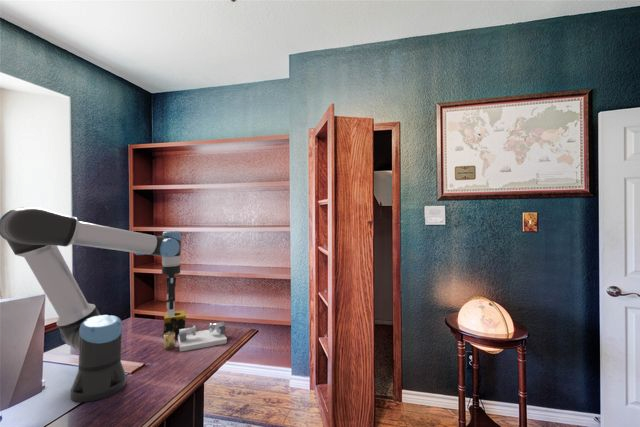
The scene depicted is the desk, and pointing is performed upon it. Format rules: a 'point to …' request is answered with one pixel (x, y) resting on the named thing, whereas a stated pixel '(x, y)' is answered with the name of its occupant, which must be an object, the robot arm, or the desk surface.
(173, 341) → the coupler
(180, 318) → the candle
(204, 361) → the desk surface
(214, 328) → the shaft out
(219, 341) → the shaft base
